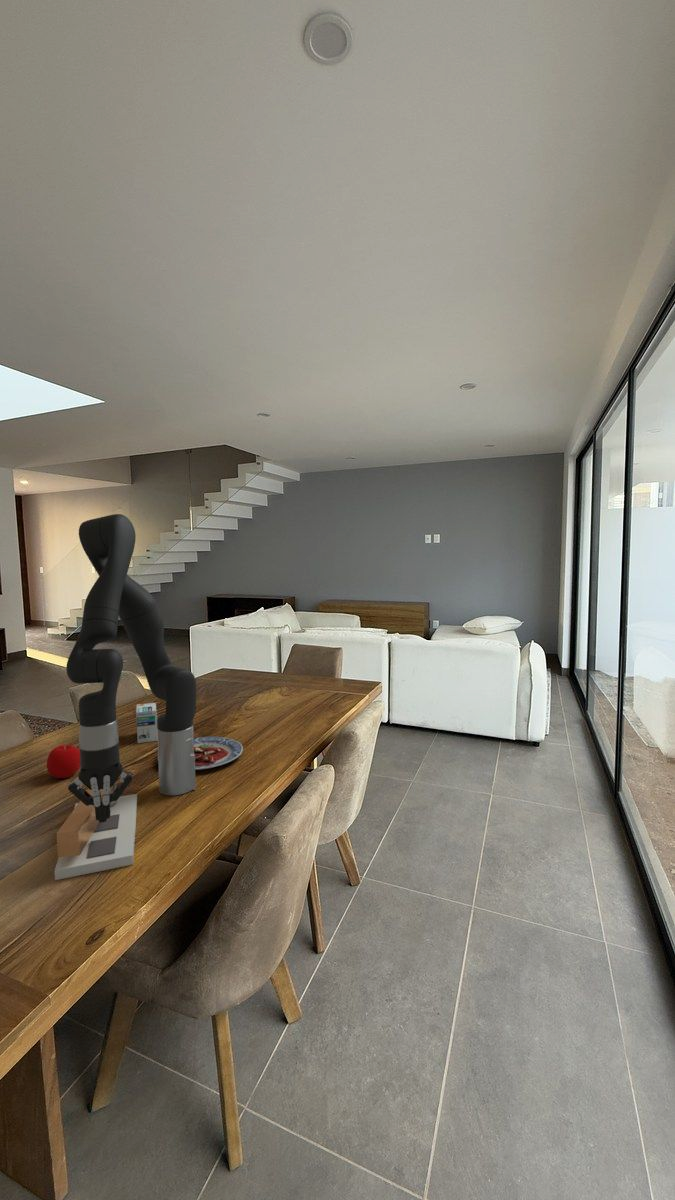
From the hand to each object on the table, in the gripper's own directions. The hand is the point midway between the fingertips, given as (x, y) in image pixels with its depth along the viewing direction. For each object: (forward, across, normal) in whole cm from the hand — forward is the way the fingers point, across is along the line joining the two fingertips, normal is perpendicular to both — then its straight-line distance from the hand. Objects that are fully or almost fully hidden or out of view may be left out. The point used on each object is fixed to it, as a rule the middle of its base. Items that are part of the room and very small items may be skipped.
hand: (103, 820), depth 106 cm
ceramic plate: (+6, -24, -42) cm, 49 cm away
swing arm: (+3, +3, -6) cm, 7 cm away
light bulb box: (+6, -9, -67) cm, 68 cm away
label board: (+6, +1, -5) cm, 8 cm away
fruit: (+6, +14, -43) cm, 46 cm away
